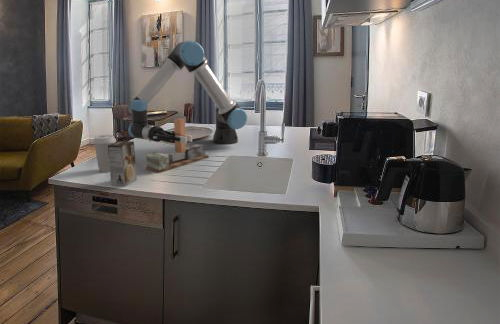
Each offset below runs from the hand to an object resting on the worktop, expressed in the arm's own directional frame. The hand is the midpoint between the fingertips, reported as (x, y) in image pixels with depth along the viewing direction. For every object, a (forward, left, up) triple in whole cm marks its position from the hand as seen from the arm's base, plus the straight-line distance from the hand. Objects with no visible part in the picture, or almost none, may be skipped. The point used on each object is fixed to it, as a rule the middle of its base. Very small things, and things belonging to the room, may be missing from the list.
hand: (188, 139), depth 174 cm
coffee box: (+30, +18, -12) cm, 37 cm away
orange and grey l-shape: (+1, -6, -10) cm, 12 cm away
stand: (+4, -4, -12) cm, 13 cm away
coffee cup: (+36, -2, -12) cm, 38 cm away
